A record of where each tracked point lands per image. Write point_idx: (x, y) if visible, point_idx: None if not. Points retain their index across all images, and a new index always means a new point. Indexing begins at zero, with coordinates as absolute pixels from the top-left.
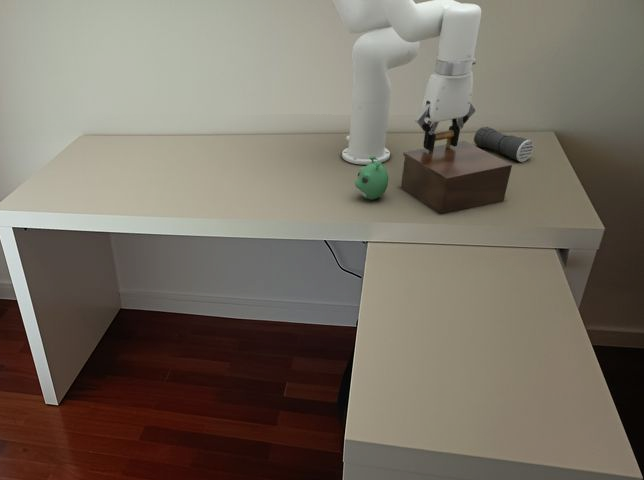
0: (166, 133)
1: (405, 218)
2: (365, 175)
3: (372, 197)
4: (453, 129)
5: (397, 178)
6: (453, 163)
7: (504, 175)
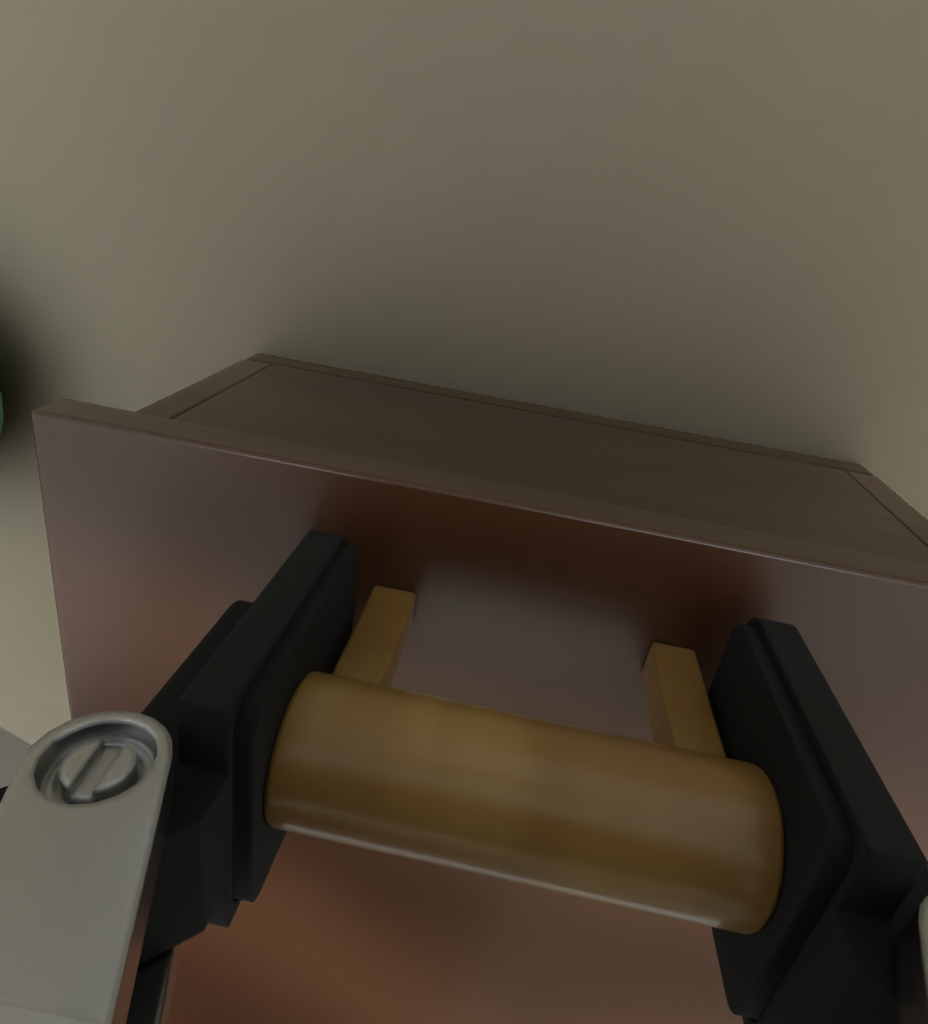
0: None
1: (51, 709)
2: None
3: None
4: (772, 948)
5: (350, 153)
6: (352, 937)
7: None
